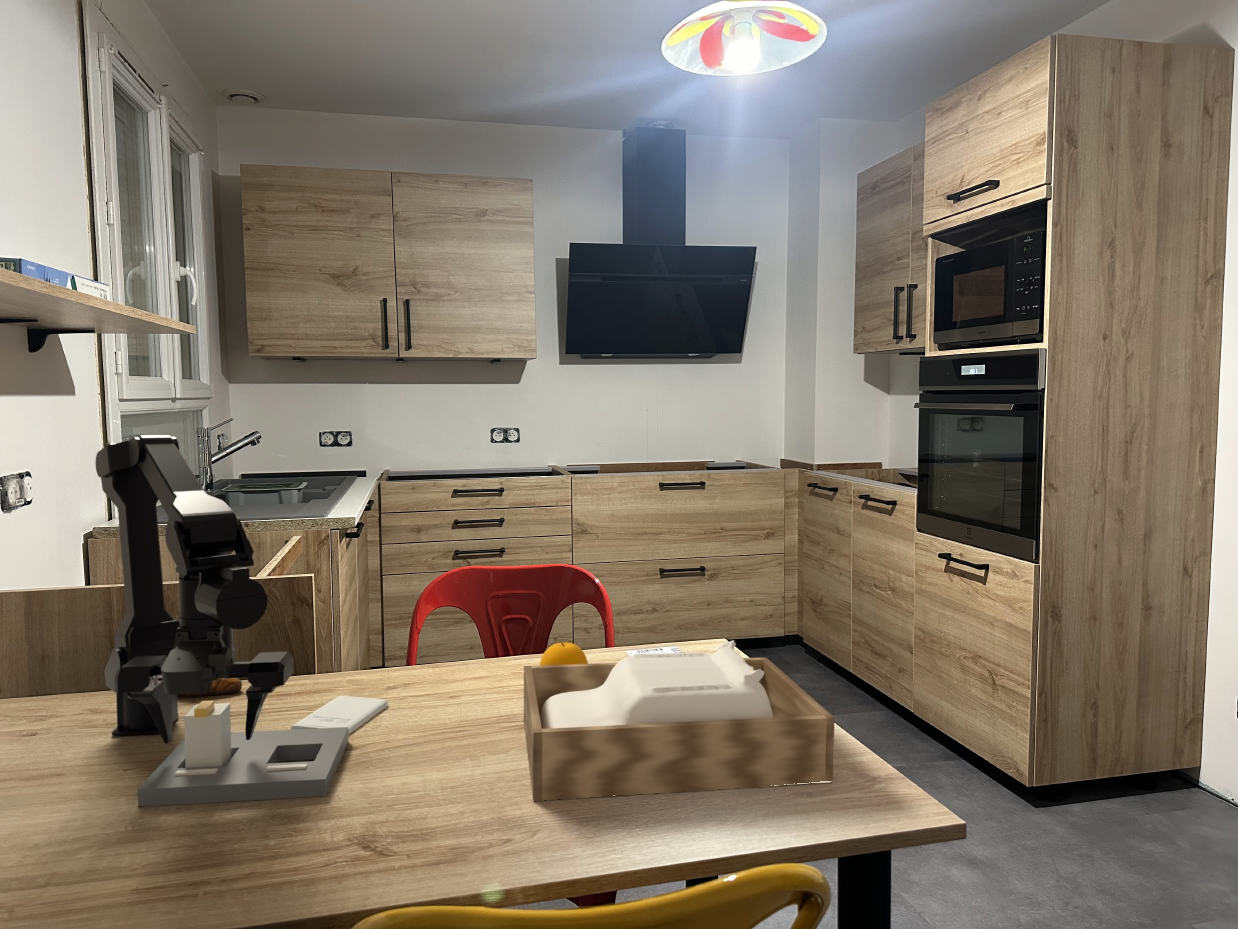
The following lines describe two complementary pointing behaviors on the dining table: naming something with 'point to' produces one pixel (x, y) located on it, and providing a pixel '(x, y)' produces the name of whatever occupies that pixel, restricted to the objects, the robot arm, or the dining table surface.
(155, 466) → the robot arm
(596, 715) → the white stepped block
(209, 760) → the plug
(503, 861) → the dining table surface
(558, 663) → the apple
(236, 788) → the panel
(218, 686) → the croissant
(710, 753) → the wooden crate
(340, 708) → the external hard drive
